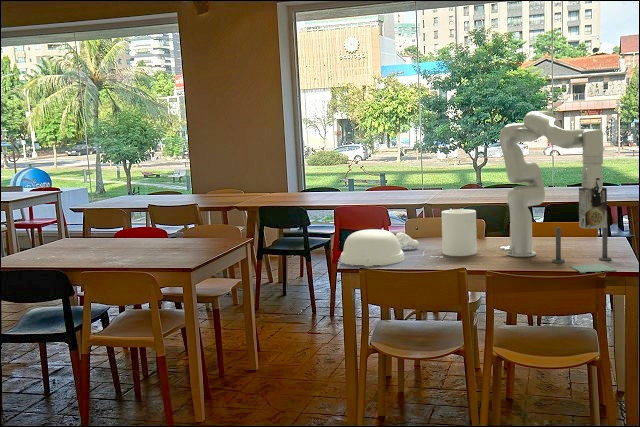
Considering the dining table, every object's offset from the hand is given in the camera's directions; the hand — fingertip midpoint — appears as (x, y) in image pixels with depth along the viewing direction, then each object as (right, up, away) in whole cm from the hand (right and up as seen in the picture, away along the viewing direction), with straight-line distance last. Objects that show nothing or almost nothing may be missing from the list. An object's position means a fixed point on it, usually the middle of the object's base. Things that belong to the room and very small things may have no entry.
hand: (592, 204), depth 274 cm
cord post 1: (-7, -24, +20) cm, 32 cm away
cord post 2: (+13, -23, +20) cm, 34 cm away
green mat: (+1, -26, +3) cm, 26 cm away
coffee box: (0, -9, +1) cm, 9 cm away
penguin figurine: (-66, -22, +68) cm, 97 cm away
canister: (-43, -22, +52) cm, 71 cm away
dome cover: (-85, -25, +47) cm, 100 cm away
